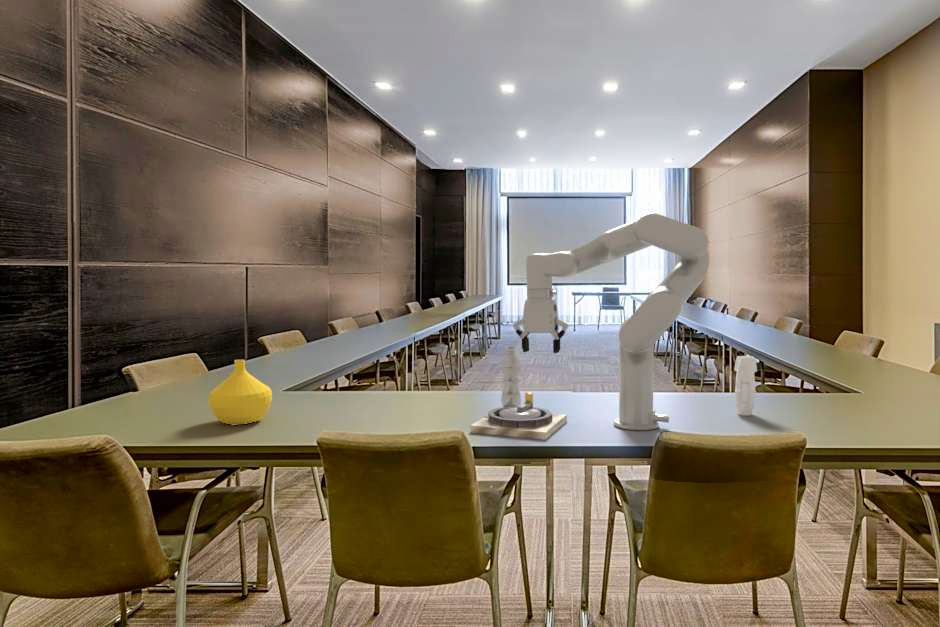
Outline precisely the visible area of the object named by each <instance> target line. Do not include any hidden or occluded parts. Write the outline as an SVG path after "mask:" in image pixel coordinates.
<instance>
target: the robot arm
mask: <svg viewBox="0 0 940 627" xmlns="http://www.w3.org/2000/svg"><path fill="white" fill-rule="evenodd" d="M709 244H710V239H709V237H708V235H707V233H706V232H705V231H704V230H702V228H699V227H697V226H694V225H691V224H688V223H685V222H682V221H680V220H677V219H673V218H671V217H668V216H665V215H663V214H660V213H657V212H647V213H644V214H643V215H641V216H640V217H639V218H637V219H634V220H631V221H629V222H627V223H625V224H622V225H619V226H617V227H615V228H612V229H610V230H608V231H605V232H603V233H601V234H599V235H598V236H597V237H596V238H595V239H593V240H591V241H589V242H587V243H585V244H582V245H581V246H580V245H579V246H578V247H575V248H573V249H570V250H568V251H558V252H553V253H545V252H542V253H541V252H540V253H539V252H538V253H529V254H528V255H527V256H526V259H525V264H526V265H525V267H526V270H525V272H526V299H525V300H524V306H523V312H522V318H521V319H520V320H518V321H517V322H514V323H513V324H512V325H513V329H514V331H515V333H516V335H517V336H519V338H520V340H521V350H522V353H527V352H529V351H530V338H529V337H528V336H529V335H530V334H551V335H552V337H553V338H554V339H553V340H552V349H553V351H552V352H553V353H554V354H558V353H559V352H560V351H561V339H562V338H563V336H565V335H566V333H567V331H568V329H569V326H570V324H568V323H566V322H564V321H563V320H561V319H559V312H558V306H557V305H558V304H557V302H556V299H554V296H557V294H558V293H557V292H558V291H557V290H554V289H553V277H556V278H569V277H573V276H576V275H578V274H581V273H583V272H585V271H588V270H591V269H593V268H596V267H598V266H601V265H604V264H606V263H612V262H614V261H616V260H619V259H621V258H624V257H626V256H628V255H631V254H633V253H636V252H638V251H641V250H644V249H646V248H649V247H651V246H653V247H655V248H658V249H661V250H664V251H666V252H668V253H672V254H675V255H677V262H676V263H675V266H674V267H673V268H672V269H671V270H670V272H668V274H667V275H666V277H664V279H663V280H662V281H661V282H660V283H659V284H658V286H657V287H656V288H654V289H653V290H652V291H651V292H649V294H648V295H647V297H646V298H645V300H643V302H642V303H641V304H640V306H639V307H638V308H636V310H635V311H634V313H633V314H632V315H631V316H630V317H629V318H627V319H626V320H624V321H623V322H622V323H621V325H620V327H619V330H618V341H619V372H618V374H619V375H618V376H619V379H618V380H619V381H618V382H619V383H618V384H619V386H618V387H619V390H618V391H619V394H618V395H619V396H618V397H619V398H618V400H619V402H618V408H619V409H618V417H617V418H615V419H613V425H614V426H615V427H617V428H620V429H624V430H629V431H630V430H631V431H651V430H655V429H658V428H659V422H661V423H668V424H669V422H670V415H666V414H663V413H662V414H660V413H659V414H658V413H657V412H656V409H655V408H654V374H655V372H654V369H655V368H654V366H655V364H654V363H655V362H654V360H655V353H654V352H655V351H654V350H655V347H654V346H655V343H657V341H659V339H661V337H662V336H663V335H664V334H665V333H666V331H668V329H669V328H670V327H671V326H672V325H673V324H674V323H675V321H676V320H677V319H678V317H679V316H680V314H681V311H682V307H683V305H684V304H685V303H686V302H687V301H688V300H689V299H690V297H691V296H692V295H693V294H694V292H695V291H696V290H697V288H699V286H700V285H701V283H702V282H703V281H704V279H705V278H706V276H707V273H708V270H709V266H710V254H709V250H708V248H709V246H710V245H709ZM521 326H522V329H523V330H522V329H521V328H520V327H521ZM560 326H561V330H560V331H559V329H560Z"/></svg>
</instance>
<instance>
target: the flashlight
mask: <svg viewBox="0 0 940 627" xmlns="http://www.w3.org/2000/svg"><path fill="white" fill-rule="evenodd" d="M733 369H734V371H735V372H736V373H735V375H736V376H735V388H734V405H735V409H736V412H737V415H738V416H742V417H743V416H745V417H750V416H752V415H753V410H754V409H755V408H754V407H755V400H756V377H755V373H757V372H758V366H757V360H756V358H755V356H749V355H748V356H747V355H737V356H736V358H735V362H734V368H733Z"/></svg>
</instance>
